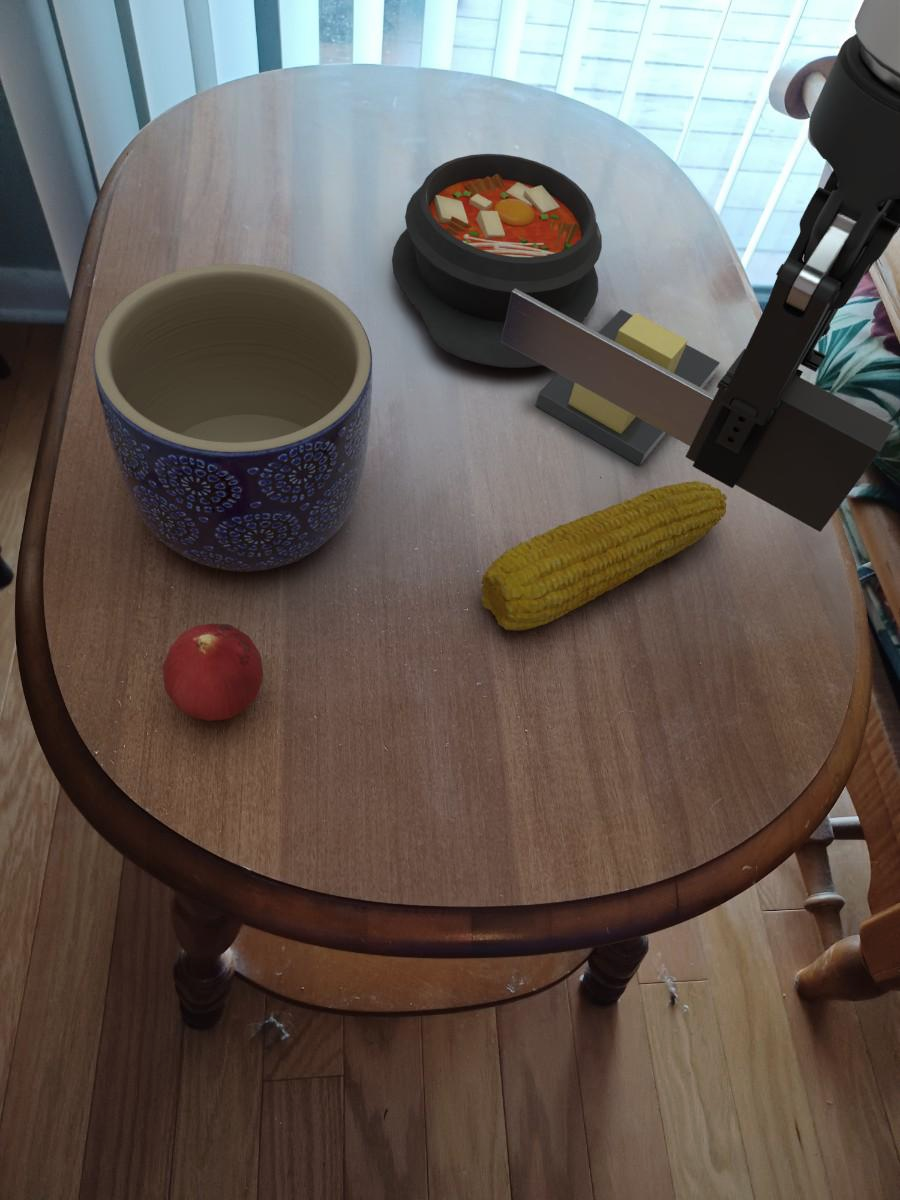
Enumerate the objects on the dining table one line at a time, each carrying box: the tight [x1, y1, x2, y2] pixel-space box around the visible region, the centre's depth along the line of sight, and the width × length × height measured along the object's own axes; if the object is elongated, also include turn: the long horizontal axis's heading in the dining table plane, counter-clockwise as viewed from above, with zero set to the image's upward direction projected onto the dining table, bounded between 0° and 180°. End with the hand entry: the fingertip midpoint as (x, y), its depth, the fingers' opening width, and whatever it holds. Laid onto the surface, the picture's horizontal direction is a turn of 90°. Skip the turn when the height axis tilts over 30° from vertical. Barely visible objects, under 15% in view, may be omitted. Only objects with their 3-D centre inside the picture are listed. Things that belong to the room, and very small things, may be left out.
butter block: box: [568, 383, 636, 434], centre depth 76 cm, size 5×5×4 cm
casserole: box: [391, 153, 603, 369], centre depth 83 cm, size 25×19×8 cm
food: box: [480, 480, 728, 631], centre depth 68 cm, size 21×6×6 cm, turn 124°
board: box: [535, 309, 721, 467], centre depth 80 cm, size 10×14×2 cm
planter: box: [92, 263, 373, 573], centre depth 63 cm, size 17×17×15 cm
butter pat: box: [615, 312, 689, 373], centre depth 79 cm, size 5×3×4 cm, turn 55°
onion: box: [162, 623, 264, 722], centre depth 57 cm, size 6×6×8 cm
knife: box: [501, 288, 894, 533], centre depth 56 cm, size 23×2×7 cm, turn 56°
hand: (725, 458), depth 57 cm, fingers closed on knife, 2 cm apart
